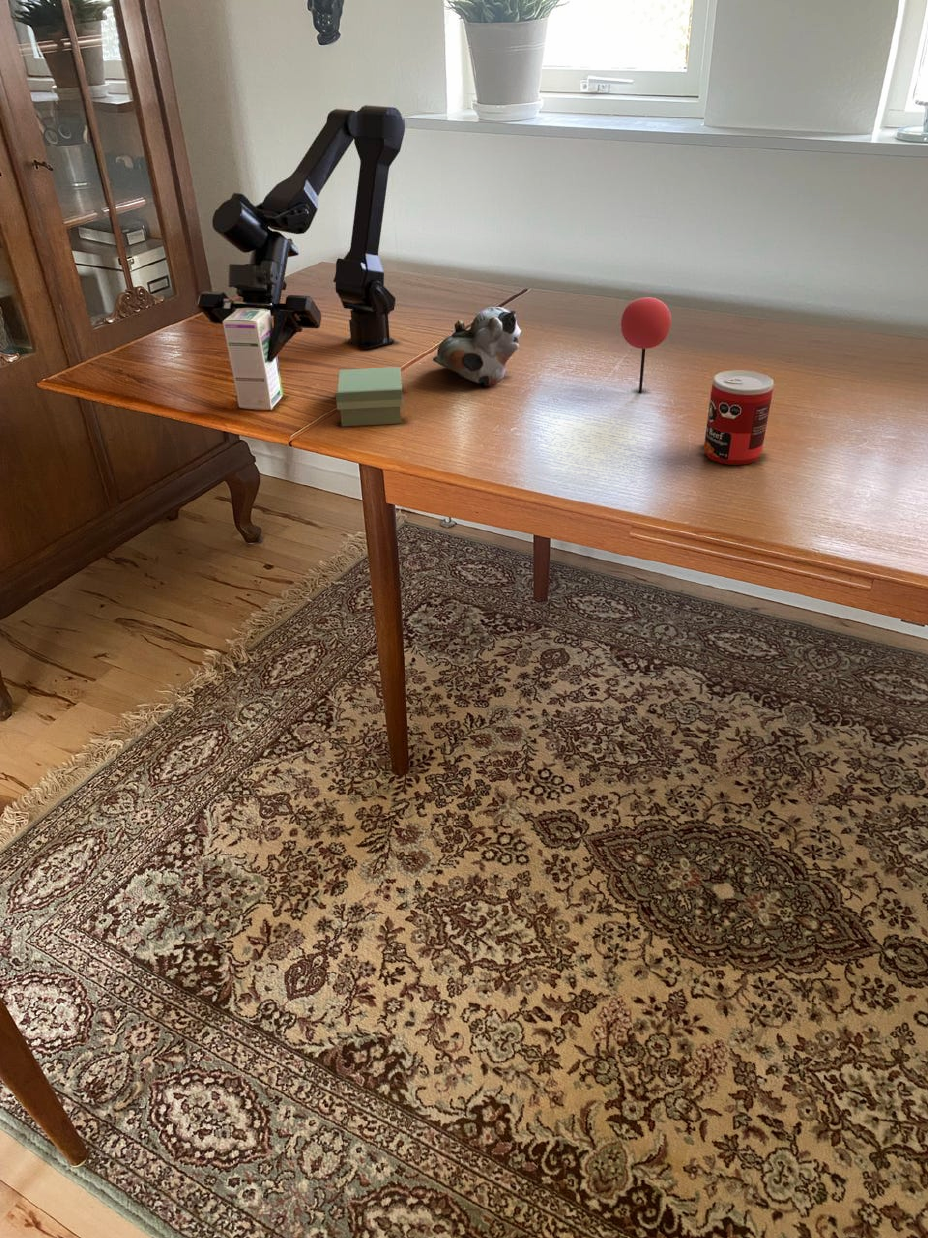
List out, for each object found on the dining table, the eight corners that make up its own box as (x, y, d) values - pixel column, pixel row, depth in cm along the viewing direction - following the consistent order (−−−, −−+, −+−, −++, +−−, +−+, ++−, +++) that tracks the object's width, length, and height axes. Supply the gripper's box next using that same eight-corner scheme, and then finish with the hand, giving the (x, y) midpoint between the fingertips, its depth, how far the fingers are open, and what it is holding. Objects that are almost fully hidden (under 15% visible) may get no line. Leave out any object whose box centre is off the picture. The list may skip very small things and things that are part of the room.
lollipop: (666, 385, 153) (676, 293, 144) (659, 402, 147) (669, 307, 138) (620, 380, 155) (628, 289, 146) (611, 397, 149) (618, 303, 140)
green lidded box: (401, 389, 154) (399, 357, 150) (404, 423, 142) (402, 389, 139) (341, 392, 153) (338, 360, 150) (339, 427, 142) (335, 392, 138)
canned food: (696, 444, 134) (706, 370, 128) (750, 441, 134) (762, 367, 128) (712, 467, 128) (723, 391, 121) (768, 464, 128) (782, 388, 122)
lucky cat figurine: (442, 359, 165) (477, 285, 159) (501, 391, 164) (538, 318, 159) (421, 364, 151) (458, 282, 146) (486, 399, 150) (525, 318, 145)
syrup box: (272, 410, 147) (258, 320, 139) (237, 408, 148) (221, 318, 140) (284, 396, 152) (271, 308, 143) (250, 394, 153) (235, 306, 144)
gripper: (190, 237, 141) (172, 332, 138) (306, 241, 138) (289, 338, 135) (220, 276, 152) (204, 365, 149) (328, 280, 148) (313, 371, 146)
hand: (250, 359), depth 145 cm, fingers closed on syrup box, 6 cm apart
